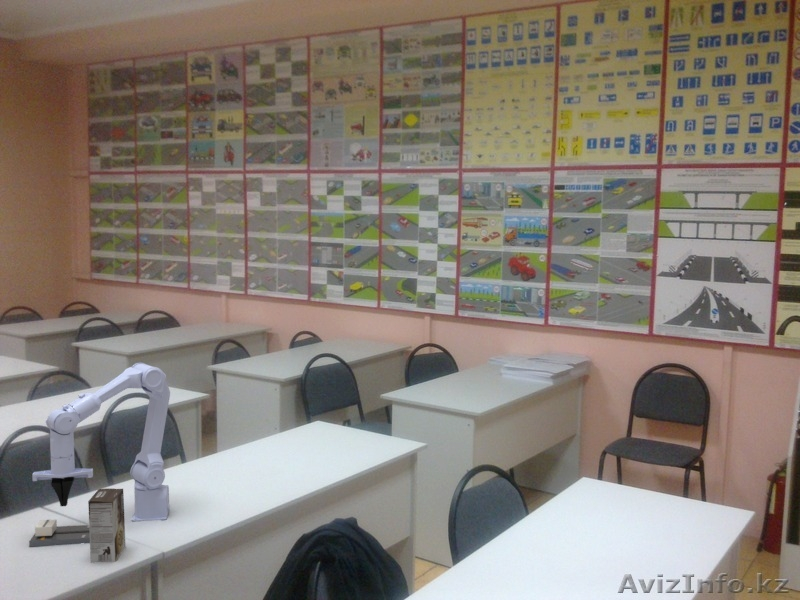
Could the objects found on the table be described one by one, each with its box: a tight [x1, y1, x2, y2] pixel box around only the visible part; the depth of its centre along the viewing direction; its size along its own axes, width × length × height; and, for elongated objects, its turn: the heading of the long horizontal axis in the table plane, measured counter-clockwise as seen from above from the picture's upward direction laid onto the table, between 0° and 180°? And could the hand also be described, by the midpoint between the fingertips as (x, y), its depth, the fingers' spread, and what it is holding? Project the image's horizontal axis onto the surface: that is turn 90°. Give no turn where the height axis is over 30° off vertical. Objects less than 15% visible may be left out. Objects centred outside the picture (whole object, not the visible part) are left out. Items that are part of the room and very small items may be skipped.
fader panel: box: [28, 524, 90, 548], centre depth 201 cm, size 16×9×2 cm, turn 100°
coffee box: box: [87, 488, 126, 564], centre depth 190 cm, size 9×6×16 cm
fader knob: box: [34, 519, 58, 536], centre depth 200 cm, size 4×5×2 cm
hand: (64, 505), depth 201 cm, fingers closed
